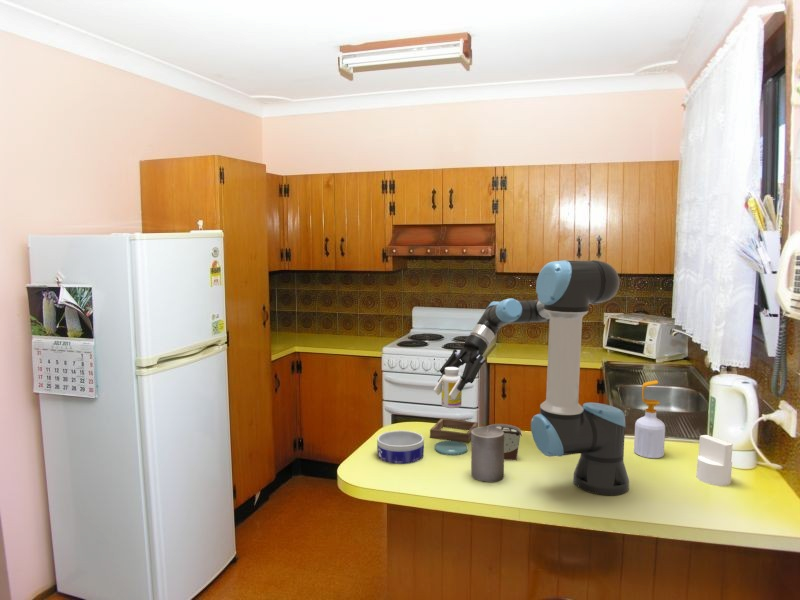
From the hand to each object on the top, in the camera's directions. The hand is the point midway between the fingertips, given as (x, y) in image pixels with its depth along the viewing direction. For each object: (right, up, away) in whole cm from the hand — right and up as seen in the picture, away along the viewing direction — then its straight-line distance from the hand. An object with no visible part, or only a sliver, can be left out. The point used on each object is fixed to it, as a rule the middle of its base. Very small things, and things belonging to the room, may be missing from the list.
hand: (443, 394), depth 190 cm
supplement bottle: (+3, -4, +3) cm, 6 cm away
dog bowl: (-14, -20, -1) cm, 25 cm away
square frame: (+5, -17, +19) cm, 26 cm away
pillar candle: (+12, -22, -17) cm, 30 cm away
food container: (+19, -20, -2) cm, 27 cm away
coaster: (+3, -19, +4) cm, 20 cm away
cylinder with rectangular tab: (+78, -22, -19) cm, 84 cm away
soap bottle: (+68, -20, +1) cm, 71 cm away
